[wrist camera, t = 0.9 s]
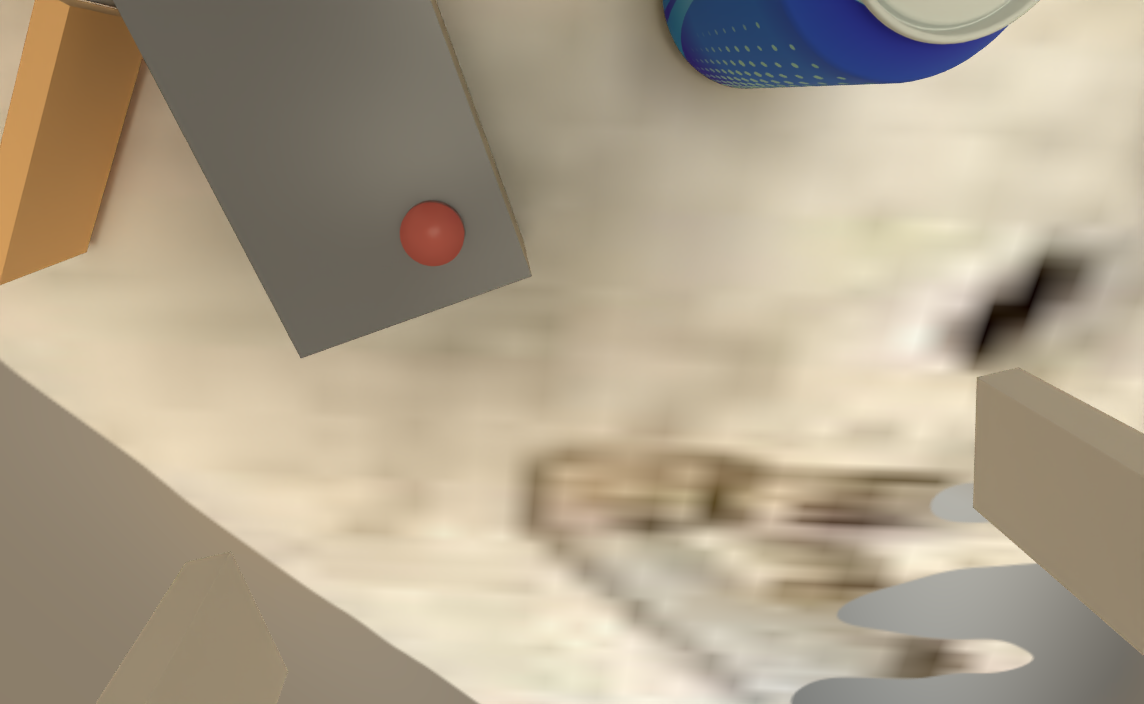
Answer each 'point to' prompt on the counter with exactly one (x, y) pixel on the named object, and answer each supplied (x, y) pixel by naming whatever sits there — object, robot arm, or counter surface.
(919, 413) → the counter surface
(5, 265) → the side door
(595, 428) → the counter surface
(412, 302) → the camera body
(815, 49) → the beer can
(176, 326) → the counter surface
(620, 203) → the counter surface
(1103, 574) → the robot arm
